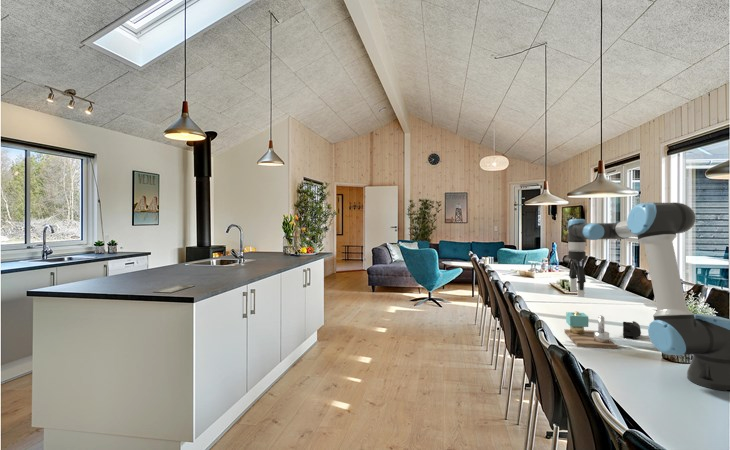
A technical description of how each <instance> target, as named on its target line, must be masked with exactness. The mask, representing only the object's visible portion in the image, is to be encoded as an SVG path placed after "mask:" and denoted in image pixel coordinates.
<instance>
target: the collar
mask: <svg viewBox="0 0 730 450" xmlns="http://www.w3.org/2000/svg"><path fill="white" fill-rule="evenodd" d="M574 313H575V312H573V311H572V312H570V311H566V313H565V322H566V324H567V325H568V326H569V327H570V326H576V327H584V328H588V327H589V316H588V315H587V314H586V313H584V312H579V313H580V315H574Z"/></svg>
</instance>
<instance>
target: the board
mask: <svg viewBox="0 0 730 450" xmlns="http://www.w3.org/2000/svg"><path fill="white" fill-rule="evenodd" d="M563 331H564V333H565V335H566V336H567V337H568V338H569V339H570V341H571V342H572V343H573V344H574V345H575V346H576V347H579V348H581V347H582V348H595V349H596V348H597V349H611V348H612V349H613V350H616V349H617V347H618V345H617V344H616V343H615V342H613V341H612V339H610V338H609V343H599V342H595V341H594V331H595V330H591V329H590V330H589V329H588V330H587V329H584V334H573V333H571V332H570V328H568V329H564V330H563ZM612 349H611V350H612Z"/></svg>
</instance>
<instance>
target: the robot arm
mask: <svg viewBox="0 0 730 450" xmlns="http://www.w3.org/2000/svg"><path fill="white" fill-rule="evenodd" d="M696 219H697V218H696V213H695V211H694V210H693V208H691V207H690V206H689V205H687V204H685V203H683V202H652V201H651V202H650V201H649V202H643V203H637V204H636V205H634V206H633V207H632V208H631V209H630V211H629V214H628V215H627V219H625V220H623V221H618V222H611V223H610V222H603V223H602V222H598V223H597V222H593V223H592V222H589V223H587V222H586V219H584V218H576V219H573V218H572V219H569V220H568V224H567V225H568V226H567V232H568V235H567V236H568V237H567V238H568V242H567V243H568V244H567V245H568V247H567V248H568V249H567V250H569V251H568V252H567V253H568V255H567V256H568V257H567V258H568V259H570V267H569V274H568V277H569V278H570V280H569V282H570V283H569V284H570V285H569V288H570V292H571V293H577V297H578V298H584V297H585V283H586V282H587V281H586V280H587V279H586V273H585V272H586V271H585V267H584V266H585V265H584V263H585V262H584V261H582V260H585V259H586V257H587V256H586V246H587V243H586V241H587V240H590V241H597V240H627V239H629V238H631V237H637V241H638V242H639V243H640V244H642V245H643V246H644V250H645V256H646V261H647V266H648V271H649V277H650V280H651V286H652V290H653V295H654V300H655V305H656V307H655V308H656V311H655V313H654V314H653V316H652V317H653V320H652V321H651V322H650V323H649V325H648V328H647V333H648V336H649V337H648V338H649V340H650V342H651V343H652V345H653V346H654V347H655V348H657V349H656V350H658V351H659V352H661V353H663V354H665V355H669V356H683V355H684V356H686V355H687V356H688V355H693V357H692V360H691V362H690V364H689V367H688V369H687V372H686V378H687V380H688V381H690V382H692V383H693V384H696V385H698V386H701V387H705V388H709V389H712V390H716V391H717V390H719V391H725V392H726V391H727V390H730V319H729V318H725V317H722V316H717V315H710V314H703V313H695V314H694V313H693V312H692V311H690V310H689V309H688V307H687V302H686V299H685V293H684V289H683V285H682V284H683V283H682V279H681V275H680V270H679V267H678V261H677V257H676V252H675V248H674V242H673V241H674V240H675V238H676V237H677V234H683V233H686V232H688V231H690V230H691V229H692V228H693V227H694V225H695V224H696ZM727 392H728V391H727Z"/></svg>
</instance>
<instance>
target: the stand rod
mask: <svg viewBox="0 0 730 450" xmlns="http://www.w3.org/2000/svg"><path fill="white" fill-rule="evenodd" d="M597 322H598V323H597V326H598V327H597V330H593V331H594V341H595V342H599V343H609V339H610V333H609V332H608V331H605V316H604V315H599V316H598V321H597Z"/></svg>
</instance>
